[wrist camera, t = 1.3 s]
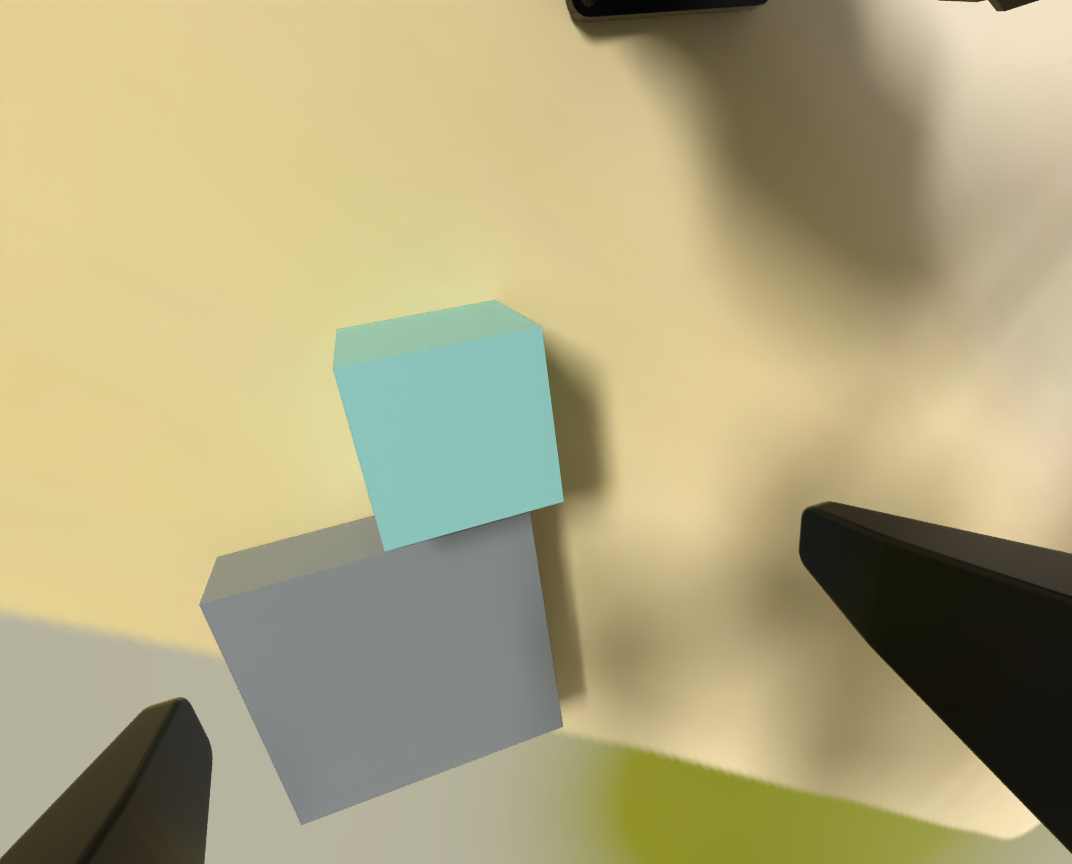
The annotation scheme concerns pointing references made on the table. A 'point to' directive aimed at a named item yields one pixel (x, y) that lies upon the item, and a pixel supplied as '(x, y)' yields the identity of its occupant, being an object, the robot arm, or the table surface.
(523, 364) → the cube
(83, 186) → the table surface
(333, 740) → the tile
